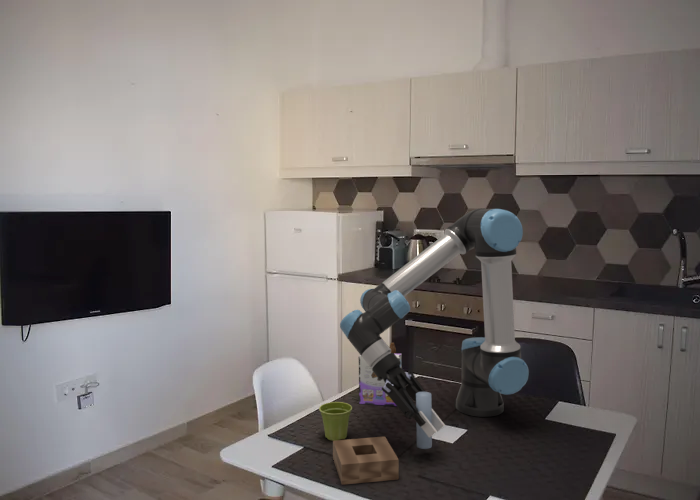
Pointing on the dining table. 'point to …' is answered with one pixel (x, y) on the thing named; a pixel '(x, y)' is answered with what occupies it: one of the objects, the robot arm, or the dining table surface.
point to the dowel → (426, 407)
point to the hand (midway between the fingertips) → (437, 431)
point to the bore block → (365, 460)
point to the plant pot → (335, 419)
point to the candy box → (372, 385)
